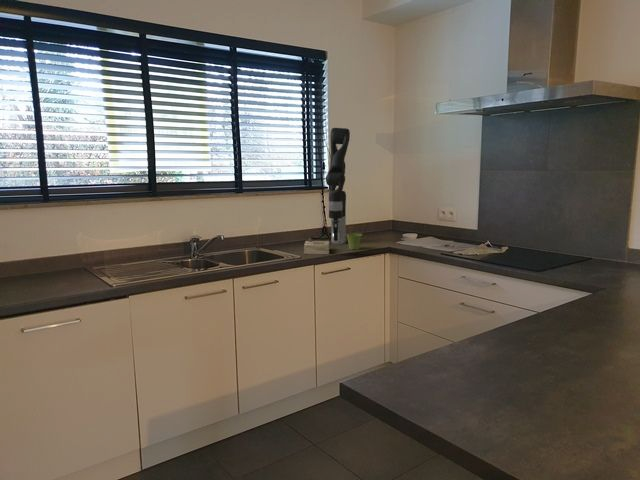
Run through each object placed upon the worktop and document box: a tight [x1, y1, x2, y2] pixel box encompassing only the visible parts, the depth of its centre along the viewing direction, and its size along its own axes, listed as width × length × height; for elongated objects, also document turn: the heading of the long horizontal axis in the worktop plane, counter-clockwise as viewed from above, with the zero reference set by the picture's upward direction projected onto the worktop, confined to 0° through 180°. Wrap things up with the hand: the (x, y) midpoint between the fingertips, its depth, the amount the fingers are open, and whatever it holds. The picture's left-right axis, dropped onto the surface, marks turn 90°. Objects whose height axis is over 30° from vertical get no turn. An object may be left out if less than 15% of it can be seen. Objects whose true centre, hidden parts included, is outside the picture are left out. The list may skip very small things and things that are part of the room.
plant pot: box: [346, 233, 363, 250], centre depth 278 cm, size 9×9×9 cm
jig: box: [303, 237, 330, 255], centre depth 271 cm, size 16×14×7 cm
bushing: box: [331, 233, 340, 245], centre depth 261 cm, size 4×4×6 cm
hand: (335, 239), depth 261 cm, fingers closed on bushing, 4 cm apart
